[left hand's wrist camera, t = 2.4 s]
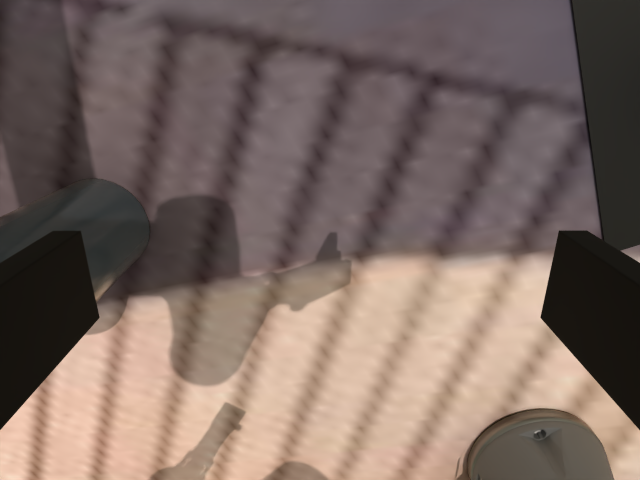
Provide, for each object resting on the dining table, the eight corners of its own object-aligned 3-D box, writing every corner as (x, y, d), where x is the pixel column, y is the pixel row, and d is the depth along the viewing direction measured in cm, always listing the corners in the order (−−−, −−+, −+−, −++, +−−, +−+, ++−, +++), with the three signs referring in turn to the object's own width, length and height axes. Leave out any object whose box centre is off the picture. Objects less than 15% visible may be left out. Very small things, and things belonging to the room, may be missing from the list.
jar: (34, 197, 40) (-195, 301, 22) (120, 164, 39) (-49, 245, 21) (85, 279, 44) (-80, 428, 26) (166, 251, 42) (53, 385, 24)
